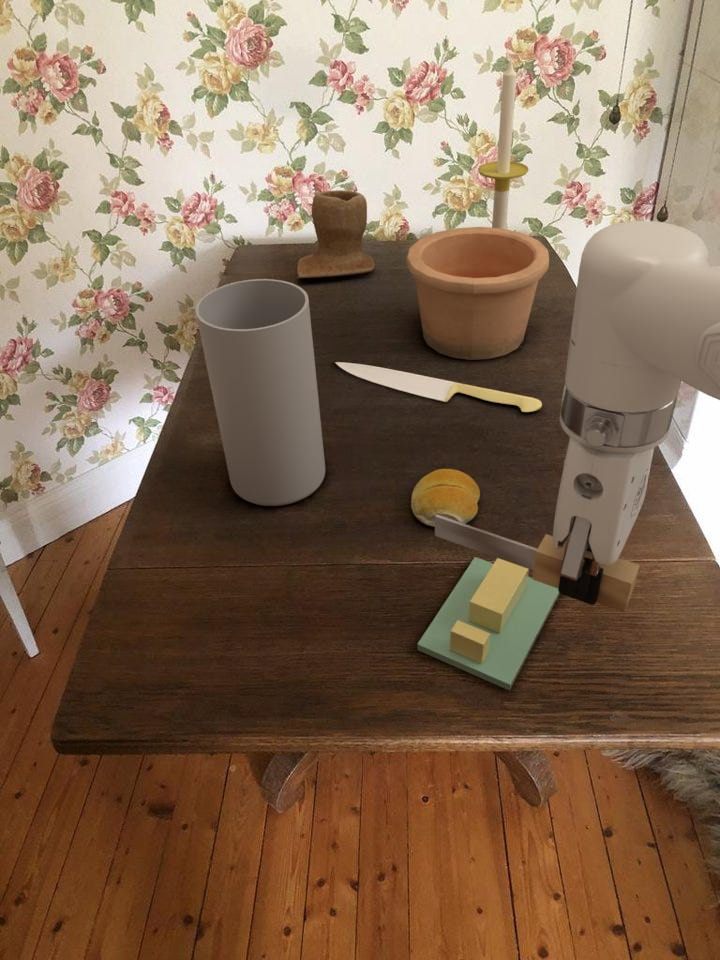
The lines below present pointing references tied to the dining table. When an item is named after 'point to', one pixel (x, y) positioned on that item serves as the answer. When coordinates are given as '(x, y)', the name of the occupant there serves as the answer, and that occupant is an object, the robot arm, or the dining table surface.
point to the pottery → (476, 289)
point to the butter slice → (469, 641)
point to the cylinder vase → (264, 388)
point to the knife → (435, 386)
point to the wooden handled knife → (542, 560)
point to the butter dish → (498, 644)
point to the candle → (504, 152)
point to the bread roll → (445, 497)
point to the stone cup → (337, 236)
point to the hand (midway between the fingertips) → (583, 583)
